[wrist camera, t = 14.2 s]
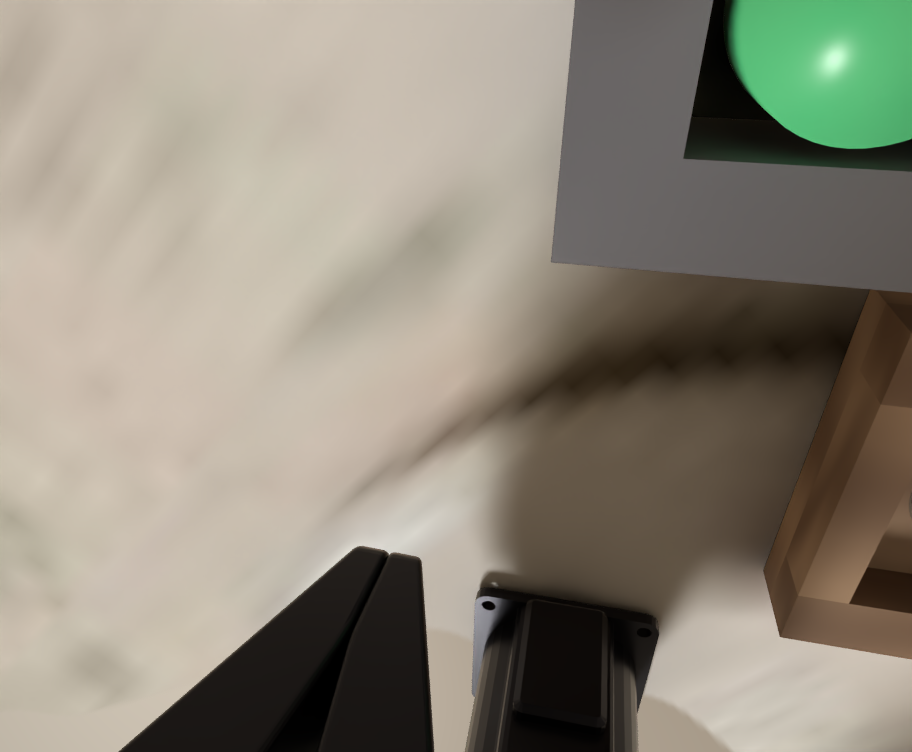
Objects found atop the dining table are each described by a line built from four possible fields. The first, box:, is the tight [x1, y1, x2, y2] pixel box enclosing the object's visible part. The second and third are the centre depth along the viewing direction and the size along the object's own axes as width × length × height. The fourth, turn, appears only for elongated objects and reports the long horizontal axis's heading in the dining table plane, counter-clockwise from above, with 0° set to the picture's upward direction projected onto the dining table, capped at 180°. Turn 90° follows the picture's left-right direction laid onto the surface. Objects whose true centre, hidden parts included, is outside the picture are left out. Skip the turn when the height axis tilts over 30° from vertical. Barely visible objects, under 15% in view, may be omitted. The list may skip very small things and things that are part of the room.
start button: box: [723, 0, 912, 149], centre depth 10 cm, size 4×4×2 cm
